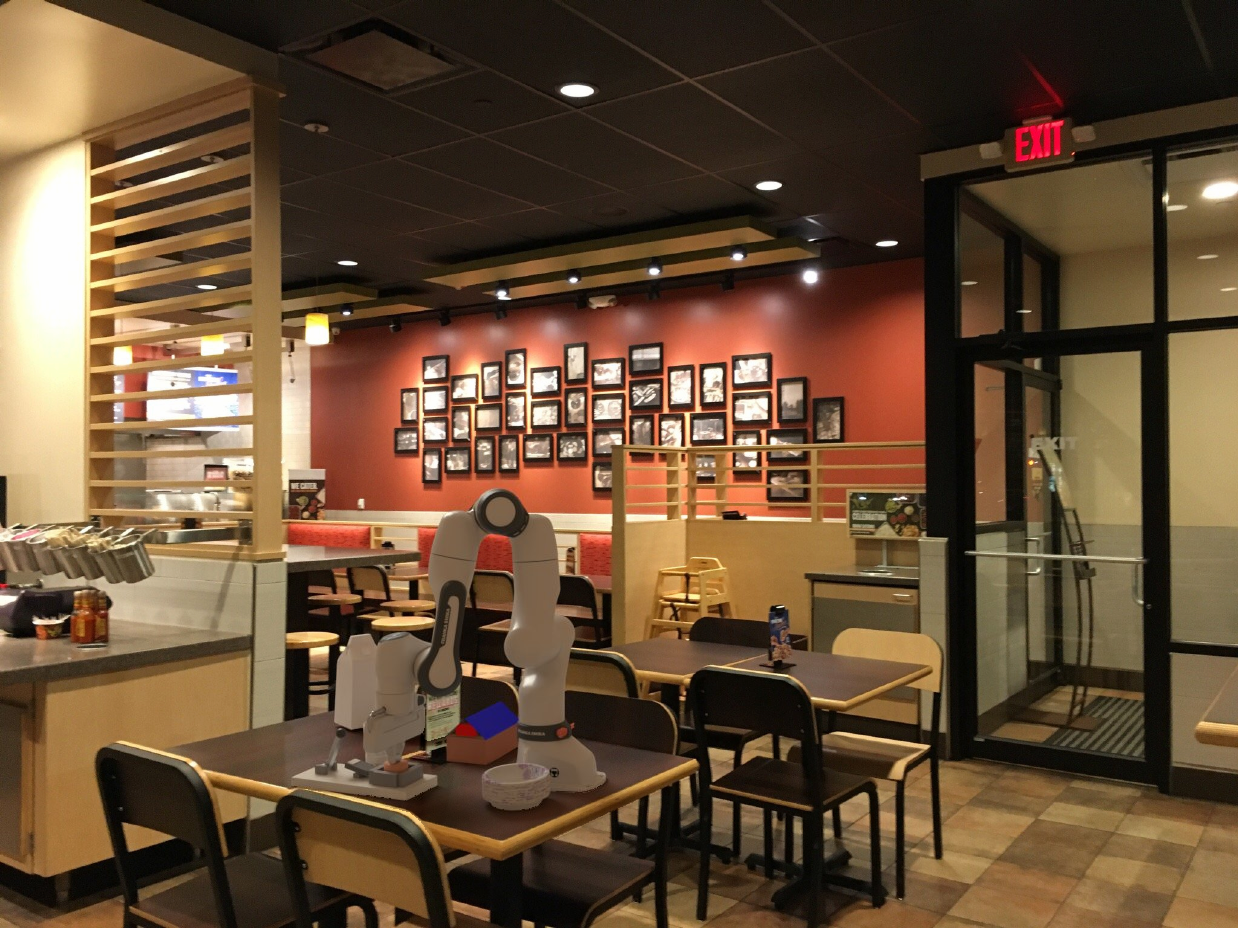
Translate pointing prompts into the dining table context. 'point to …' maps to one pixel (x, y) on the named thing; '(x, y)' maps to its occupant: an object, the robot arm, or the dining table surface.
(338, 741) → the toggle lever
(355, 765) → the rocker switch
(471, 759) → the house
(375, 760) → the white cup
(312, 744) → the dining table surface
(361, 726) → the milk
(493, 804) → the paper bowls
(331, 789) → the console
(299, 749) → the dining table surface
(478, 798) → the dining table surface
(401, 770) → the push button
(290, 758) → the dining table surface
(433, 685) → the robot arm
